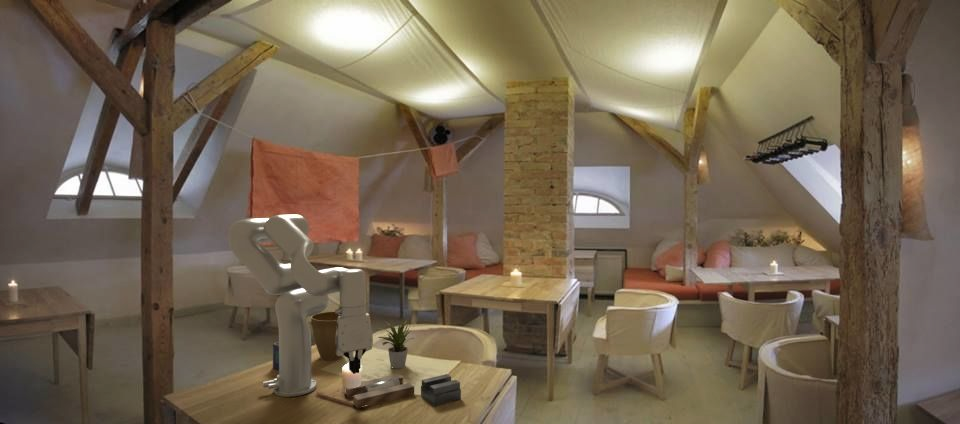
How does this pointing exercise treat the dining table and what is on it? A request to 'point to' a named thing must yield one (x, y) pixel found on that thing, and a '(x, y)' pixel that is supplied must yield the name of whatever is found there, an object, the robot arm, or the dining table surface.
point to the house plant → (397, 346)
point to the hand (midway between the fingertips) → (354, 372)
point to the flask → (276, 356)
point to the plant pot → (325, 334)
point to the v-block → (440, 390)
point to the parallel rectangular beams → (379, 392)
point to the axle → (382, 385)
